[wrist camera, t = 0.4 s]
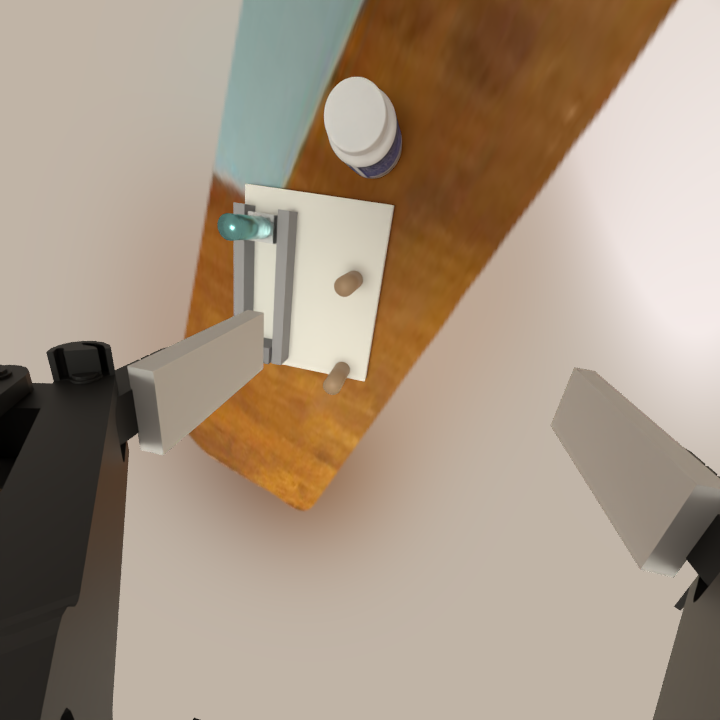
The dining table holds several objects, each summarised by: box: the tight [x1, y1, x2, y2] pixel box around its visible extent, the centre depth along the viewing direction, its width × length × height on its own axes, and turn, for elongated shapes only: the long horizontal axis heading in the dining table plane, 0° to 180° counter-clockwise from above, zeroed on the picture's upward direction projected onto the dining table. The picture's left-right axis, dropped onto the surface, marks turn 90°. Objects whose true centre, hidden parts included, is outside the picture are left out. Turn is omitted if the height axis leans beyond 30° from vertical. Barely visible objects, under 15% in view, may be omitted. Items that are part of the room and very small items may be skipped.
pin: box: [218, 211, 278, 244], centre depth 33 cm, size 3×3×8 cm
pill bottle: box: [324, 77, 402, 179], centre depth 29 cm, size 6×6×10 cm
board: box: [234, 184, 394, 395], centre depth 37 cm, size 20×16×6 cm
